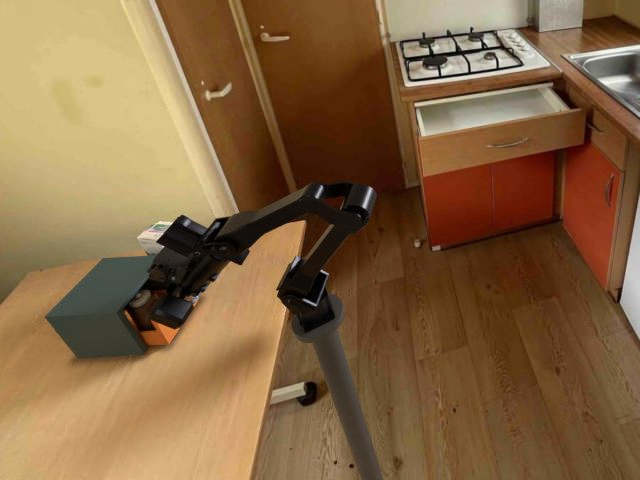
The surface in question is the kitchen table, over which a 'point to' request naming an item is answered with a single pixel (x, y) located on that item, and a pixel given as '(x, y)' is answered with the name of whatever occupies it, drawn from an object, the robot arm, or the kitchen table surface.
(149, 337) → the drawer
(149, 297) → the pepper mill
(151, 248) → the syrup box
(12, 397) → the kitchen table surface
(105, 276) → the cubby
